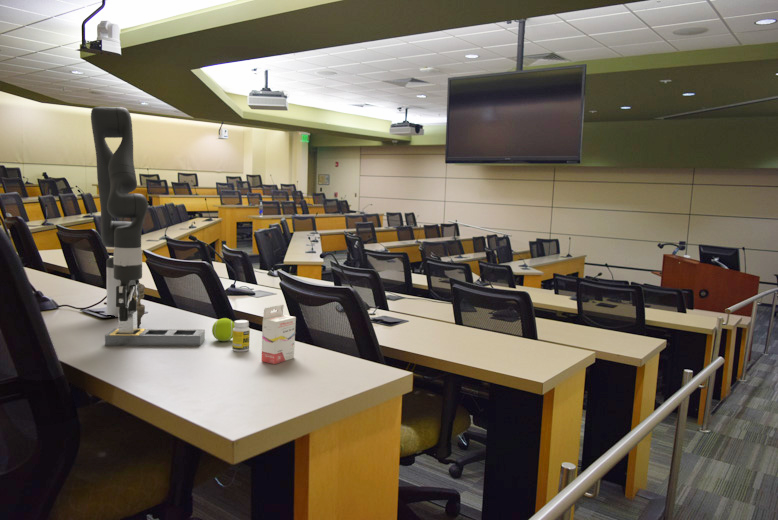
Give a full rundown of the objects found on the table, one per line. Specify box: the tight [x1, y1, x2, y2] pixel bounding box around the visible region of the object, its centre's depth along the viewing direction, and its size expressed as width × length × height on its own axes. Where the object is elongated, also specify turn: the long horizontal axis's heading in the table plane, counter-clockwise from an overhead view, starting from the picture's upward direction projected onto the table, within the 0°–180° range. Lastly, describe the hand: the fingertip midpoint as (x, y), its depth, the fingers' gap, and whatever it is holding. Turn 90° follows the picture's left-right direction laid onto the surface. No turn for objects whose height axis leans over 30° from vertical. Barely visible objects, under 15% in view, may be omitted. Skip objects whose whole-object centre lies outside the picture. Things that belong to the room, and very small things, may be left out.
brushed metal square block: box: [117, 311, 138, 334], centre depth 163 cm, size 4×4×9 cm
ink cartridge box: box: [261, 304, 297, 365], centre depth 152 cm, size 9×5×15 cm, turn 152°
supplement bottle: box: [232, 319, 251, 353], centre depth 161 cm, size 5×5×8 cm
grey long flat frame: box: [104, 328, 206, 347], centre depth 165 cm, size 8×26×3 cm, turn 99°
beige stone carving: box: [137, 282, 146, 328], centre depth 181 cm, size 6×6×15 cm
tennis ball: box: [211, 317, 235, 342], centre depth 170 cm, size 7×7×7 cm
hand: (128, 317), depth 163 cm, fingers open, 8 cm apart
